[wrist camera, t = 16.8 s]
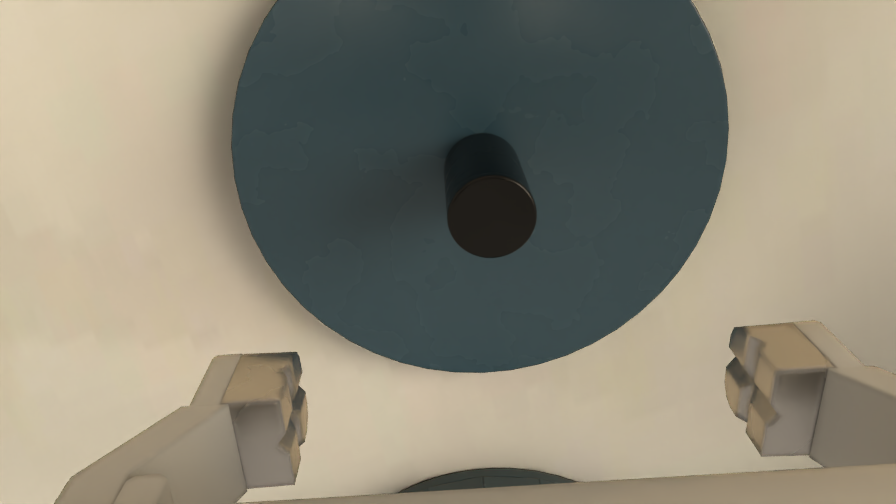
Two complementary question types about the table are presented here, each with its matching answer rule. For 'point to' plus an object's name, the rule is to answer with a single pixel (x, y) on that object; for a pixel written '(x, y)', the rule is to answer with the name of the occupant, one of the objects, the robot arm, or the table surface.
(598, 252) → the tin lid
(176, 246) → the table surface
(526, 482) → the tin
